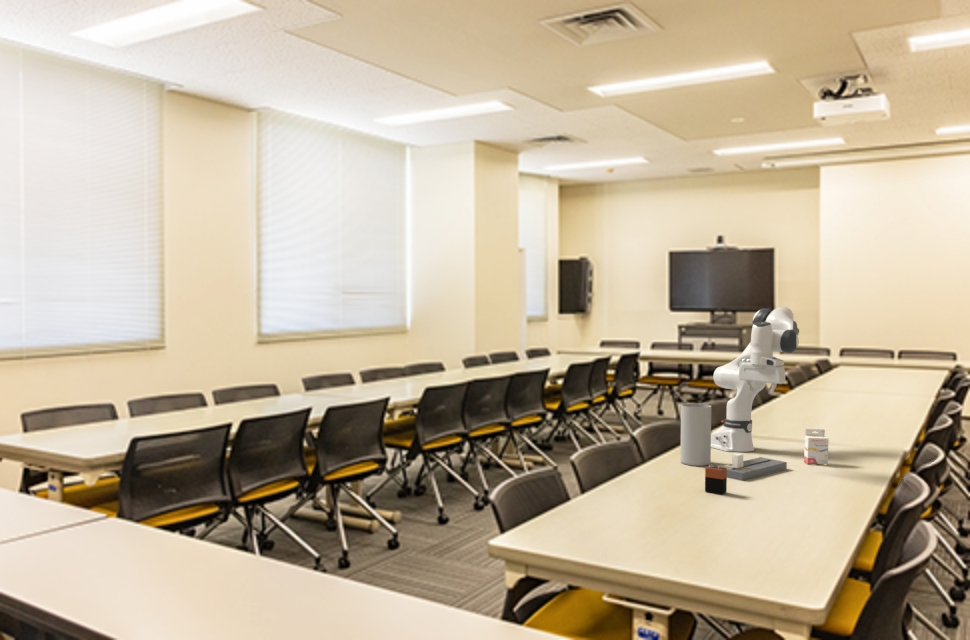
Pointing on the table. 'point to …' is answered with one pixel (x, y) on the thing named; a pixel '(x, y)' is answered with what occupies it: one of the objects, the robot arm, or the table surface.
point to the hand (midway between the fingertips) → (761, 392)
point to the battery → (716, 479)
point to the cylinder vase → (695, 434)
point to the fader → (737, 460)
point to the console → (755, 468)
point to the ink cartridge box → (816, 447)
